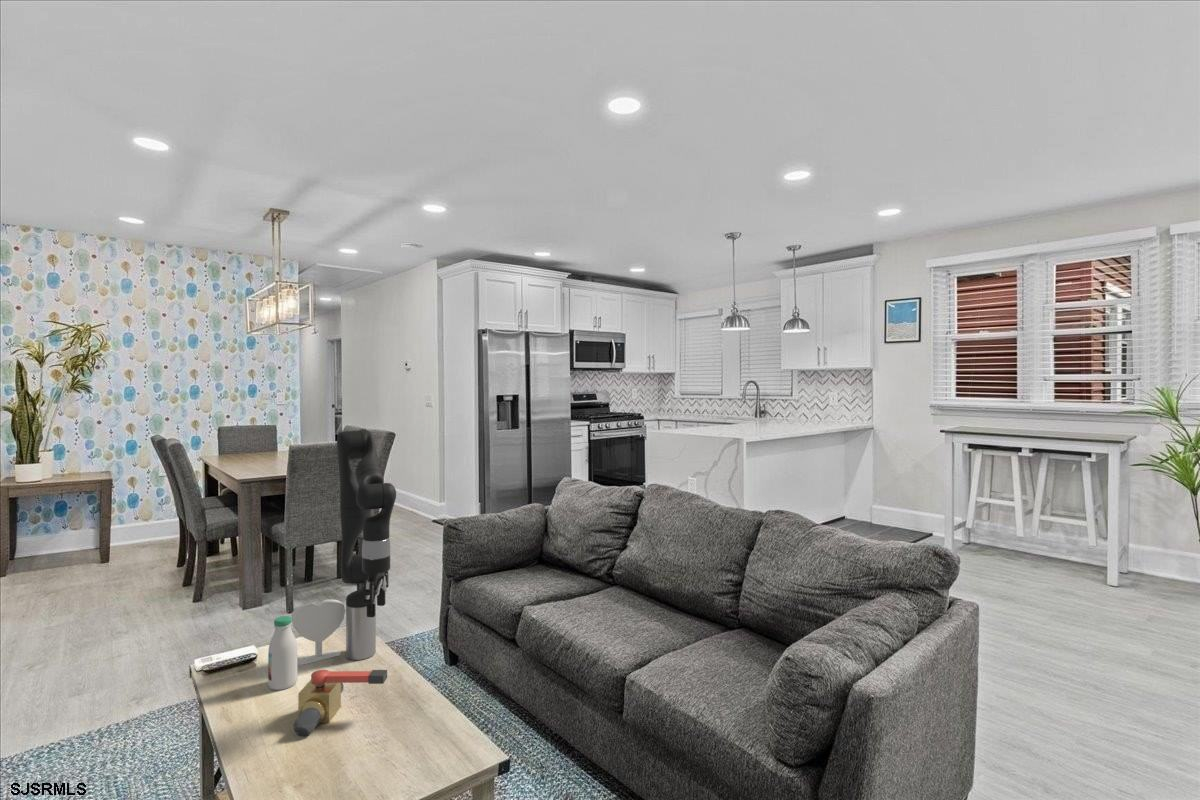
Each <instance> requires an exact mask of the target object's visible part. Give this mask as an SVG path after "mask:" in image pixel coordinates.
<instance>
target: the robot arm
mask: <svg viewBox="0 0 1200 800" xmlns="http://www.w3.org/2000/svg"><path fill="white" fill-rule="evenodd" d="M336 437H337V439H336V450H337V451H336V452H337V463H338V471H339V512H340V513H339V515H340V525H341V527H340V528H341V554H340V555H341V559H340V562H341V563H340V576H341V580H342V582H343V583H344V584H345V585H347V584H348V585H349V584H350V585H353V584H362V586H363V587H362V588H359V589H357V590H355V591H353V592H350V593H348V594H347V596H346V597H345V598H346V599H345V658H346V659H348V660H352V661H360V660H365V659H369V658H370V657H373V656H374V655H375V654H376V653H377V649H376V648H377V647H376V645H377V644H376V641H377V639H376V638H377V627H376V626H377V625H376V624H377V621H376V620H377V617H376V616H377V607H376V606H378V607H383V606H385V605H386V592H387V589H388V588H389V586H390V585H389V583H390V582H389V570H391V541H390V523H391V522H390V521H391V518H392V512H393V509H394V506H395V503H396V499H397V489H396V487H395V486H394V485H393V484H392V483H390V482H385V480H384V476H383V473H382V471H381V469H380V465H379V461H378V460H379V458H378V452H377V447H376V446H377V445H376V440H375V436H374V434H373V433H372V432H371V431H370V430H367V429H362V430H348V431H346V430H345V431H340V432H339V433H338V435H337V436H336ZM350 460H351V461H352V460H353V461H354V460H360V461H359V462H358V463H357V465H356V467H355V470H354V471H355V472H353V470H352V467H351V466H350ZM354 473H355V474H354ZM377 509H378V510H379V509H380V511H379V512H378V514H375V515H372V512H371V511H372V510H377ZM371 515H372V516H371ZM361 534H362V545H361V554H354V548H355V545H356V543H357V540H358V539H359V537H360V535H361Z"/></svg>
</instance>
